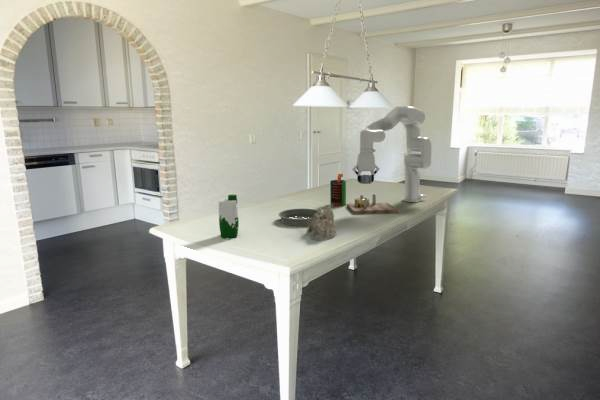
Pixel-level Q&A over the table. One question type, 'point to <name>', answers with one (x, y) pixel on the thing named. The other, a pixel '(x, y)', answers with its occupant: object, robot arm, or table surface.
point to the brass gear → (360, 202)
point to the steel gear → (366, 179)
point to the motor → (338, 191)
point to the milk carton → (228, 217)
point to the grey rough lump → (322, 225)
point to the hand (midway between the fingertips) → (365, 181)
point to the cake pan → (299, 214)
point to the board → (371, 207)
